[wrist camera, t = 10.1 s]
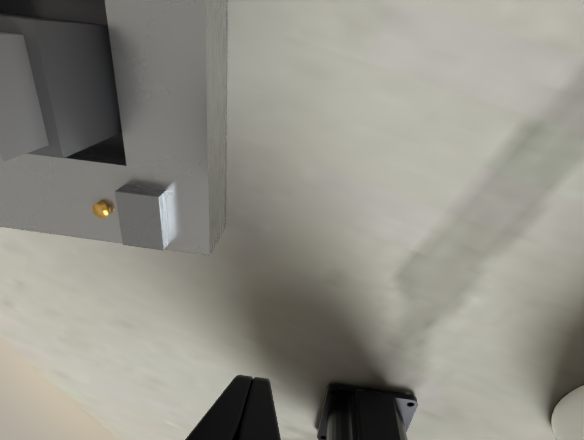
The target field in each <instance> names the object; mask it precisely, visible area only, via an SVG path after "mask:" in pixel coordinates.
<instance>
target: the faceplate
mask: <svg viewBox="0 0 584 440" xmlns="http://www.w3.org/2000/svg"><path fill="white" fill-rule="evenodd" d="M0 13H4V14H15V15H26V16H34V17H43V18H51V19H60V20H68V21H77V22H86V23H94V24H103V25H108V30H109V37H110V45H111V52H112V60H113V67H114V75H115V82H116V90H117V97H118V105H119V112H120V120H121V127H122V133H120V134H117V135H115V136H113V137H111V138H108V139H106V140H104V141H102V142H99V143H97V144H95V145H92V146H90V147H88V148H86V149H83V150H81V151H79V152H77V153H74V154H72V155H70V156H68V157H65V158H57V157H49V156H41V155H34V154H24V155H21V156H18V157H16V158H13V159H10V160H7V161H5V162H1V161H0V227H6V228H13V229H20V230H28V231H35V232H42V233H50V234H57V235H64V236H72V237H79V238H86V239H94V240H101V241H108V242H116V243H123V245H129V246H136V247H143V248H151V249H158V250H164V249H167V250H174V251H182V252H189V253H196V254H204V255H210V254H211V252H212V250H213V248H214V246H215V245H216V243H217V241H218V239H219V238H220V236H221V234H222V232H223V230H224V229H225V209H226V82H227V0H0Z"/></svg>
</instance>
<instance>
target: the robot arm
mask: <svg viewBox="0 0 584 440" xmlns="http://www.w3.org/2000/svg"><path fill="white" fill-rule="evenodd" d="M417 406H418V403H417V399H416V397H415V396H413V395H407V394H401V393H394V392H387V391H381V390H374V389H367V388H360V387H354V386H347V385H340V384H330V385H328V387H327V391H326V395H325V400H324V404H323V409H322V413H321V418H320V422H319V427H318V431H317V438H318V439H319V440H407V435H406V432H407V429H408V427H409V424H410V422H411V420H412V417H413V415H414V413H415V410H416V408H417ZM185 440H281V439H280V433H279V428H278V423H277V417H276V412H275V406H274V401H273V395H272V390H271V385H270V381H269V379H266V378H258V377H255V378H254V379H253V378H252V377H251V376H244V375H237V376H236V377H235V378H234V379H233V380H232V382H231V383H230V384H229V385H228V387H227V388H226V389H225V390H224V392H223V393H222V394H221V396H220V397H219V398H218V399H217V401H216V402H215V403H214V404H213V406H212V407H211V408H210V409H209V411H208V412H207V413H206V414H205V416H204V417H203V418H202V419H201V421H200V422H199V423H198V424H197V426H196V427H195V428H194V429H193V431H192V432H191V433H190V434H189V436H188V437H187V438H186V439H185Z"/></svg>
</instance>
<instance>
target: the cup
mask: <svg viewBox="0 0 584 440" xmlns="http://www.w3.org/2000/svg"><path fill="white" fill-rule="evenodd" d="M551 424H552V430H553V433H554V436H555V438H556V440H584V385H582V386H580V387H578V388H576V389H574V390H573V391H571V392H570V393H568V394H567V395H566V396H564V397H563V398H562V399H561V400H560V401H559V403H558V404H557V405H556V407H555V408H554V411H553V414H552V420H551Z"/></svg>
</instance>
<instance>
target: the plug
mask: <svg viewBox="0 0 584 440" xmlns="http://www.w3.org/2000/svg"><path fill="white" fill-rule="evenodd" d="M120 133H122V127H121V120H120V112H119V105H118V97H117V90H116V82H115V75H114V67H113V60H112V52H111V45H110V37H109V30H108V25H103V24H94V23H86V22H77V21H68V20H60V19H51V18H43V17H34V16H26V15H15V14H4V13H0V161H1V162H5V161H7V160H10V159H13V158H16V157H18V156H21V155H24V154H34V155H41V156H49V157H57V158H65V157H68V156H70V155H72V154H74V153H77V152H79V151H81V150H83V149H86V148H88V147H90V146H92V145H95V144H97V143H99V142H102V141H104V140H106V139H108V138H111V137H113V136H115V135H117V134H120Z"/></svg>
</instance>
